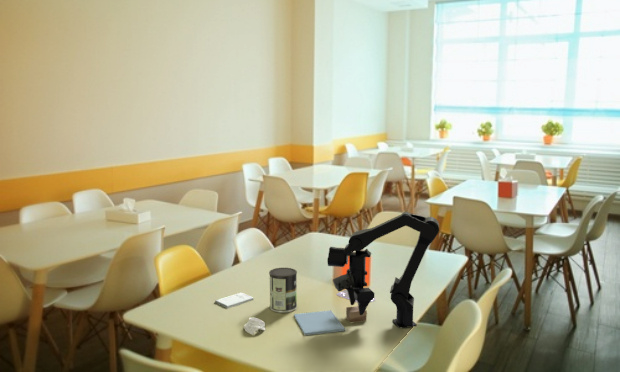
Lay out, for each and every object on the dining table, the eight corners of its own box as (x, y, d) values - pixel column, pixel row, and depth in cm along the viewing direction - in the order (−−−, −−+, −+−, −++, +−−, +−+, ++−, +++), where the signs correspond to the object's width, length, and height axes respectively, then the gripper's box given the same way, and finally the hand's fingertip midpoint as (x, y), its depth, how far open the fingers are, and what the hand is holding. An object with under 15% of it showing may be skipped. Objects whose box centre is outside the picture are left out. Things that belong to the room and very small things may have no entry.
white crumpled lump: (240, 331, 178) (238, 318, 177) (255, 324, 182) (253, 311, 181) (254, 337, 172) (252, 324, 171) (270, 329, 176) (268, 316, 176)
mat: (344, 330, 176) (344, 328, 176) (304, 335, 173) (304, 333, 172) (330, 312, 191) (330, 310, 191) (293, 316, 188) (293, 314, 188)
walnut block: (366, 321, 184) (366, 310, 184) (350, 323, 183) (350, 312, 182) (361, 316, 189) (362, 305, 188) (346, 317, 187) (346, 307, 186)
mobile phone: (364, 303, 198) (335, 293, 209) (364, 305, 199) (335, 295, 209) (376, 298, 204) (347, 288, 214) (376, 300, 204) (347, 290, 214)
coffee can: (294, 301, 202) (294, 266, 199) (298, 312, 192) (298, 275, 189) (268, 303, 200) (268, 267, 198) (270, 313, 190) (270, 276, 188)
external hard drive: (215, 304, 201) (240, 295, 209) (227, 310, 195) (253, 301, 204) (214, 299, 200) (240, 291, 209) (227, 305, 195) (253, 297, 203)
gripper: (327, 261, 189) (327, 302, 192) (344, 278, 172) (343, 323, 174) (356, 259, 192) (355, 299, 195) (375, 275, 174) (374, 319, 177)
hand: (356, 309), depth 185 cm, fingers open, 9 cm apart
